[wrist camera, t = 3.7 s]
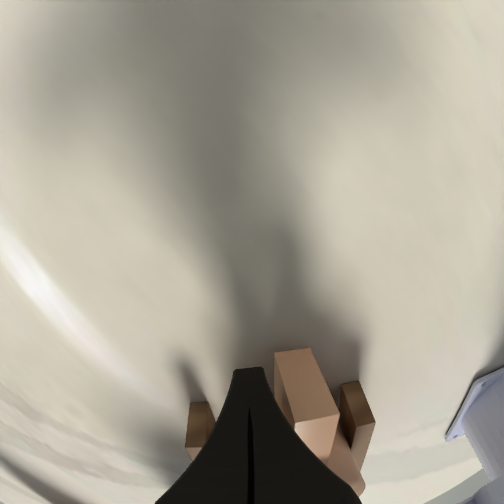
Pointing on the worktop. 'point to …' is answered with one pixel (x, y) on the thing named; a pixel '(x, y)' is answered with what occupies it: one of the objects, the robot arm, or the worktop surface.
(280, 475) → the robot arm
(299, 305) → the worktop surface
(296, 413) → the cylinder with bar handle
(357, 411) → the cradle
